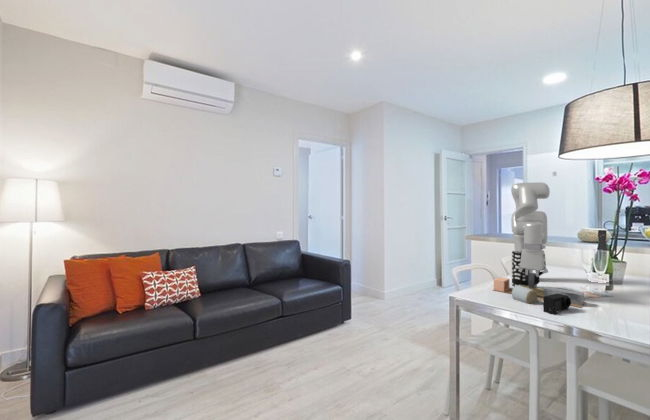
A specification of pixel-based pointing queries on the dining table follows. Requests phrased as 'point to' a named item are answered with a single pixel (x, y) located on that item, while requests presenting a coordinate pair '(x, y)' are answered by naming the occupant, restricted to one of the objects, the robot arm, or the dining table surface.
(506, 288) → the terracotta socket
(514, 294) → the ceramic mug
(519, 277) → the spotted tube
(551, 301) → the digital camera
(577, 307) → the walnut board
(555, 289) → the metal sleeve
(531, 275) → the hammer
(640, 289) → the dining table surface
